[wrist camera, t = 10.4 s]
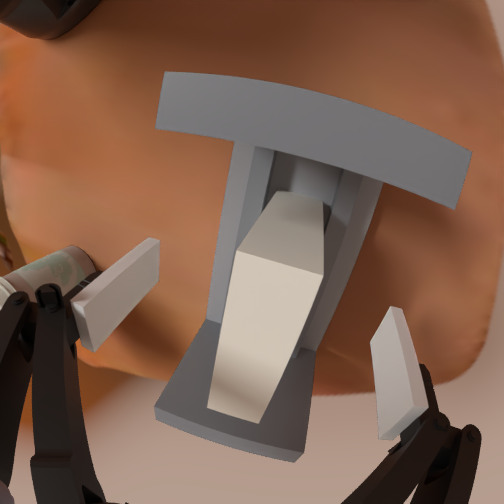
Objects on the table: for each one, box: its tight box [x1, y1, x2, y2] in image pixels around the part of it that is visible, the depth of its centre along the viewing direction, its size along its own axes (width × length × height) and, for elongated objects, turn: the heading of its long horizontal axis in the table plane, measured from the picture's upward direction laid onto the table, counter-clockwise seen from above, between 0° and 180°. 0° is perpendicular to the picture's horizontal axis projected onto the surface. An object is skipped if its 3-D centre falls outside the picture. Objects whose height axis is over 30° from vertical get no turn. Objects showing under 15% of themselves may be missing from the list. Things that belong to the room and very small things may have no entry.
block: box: [207, 189, 324, 424], centre depth 16 cm, size 10×3×10 cm, turn 168°
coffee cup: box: [0, 246, 96, 310], centre depth 22 cm, size 8×9×12 cm
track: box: [154, 72, 472, 462], centre depth 16 cm, size 20×10×11 cm, turn 168°
